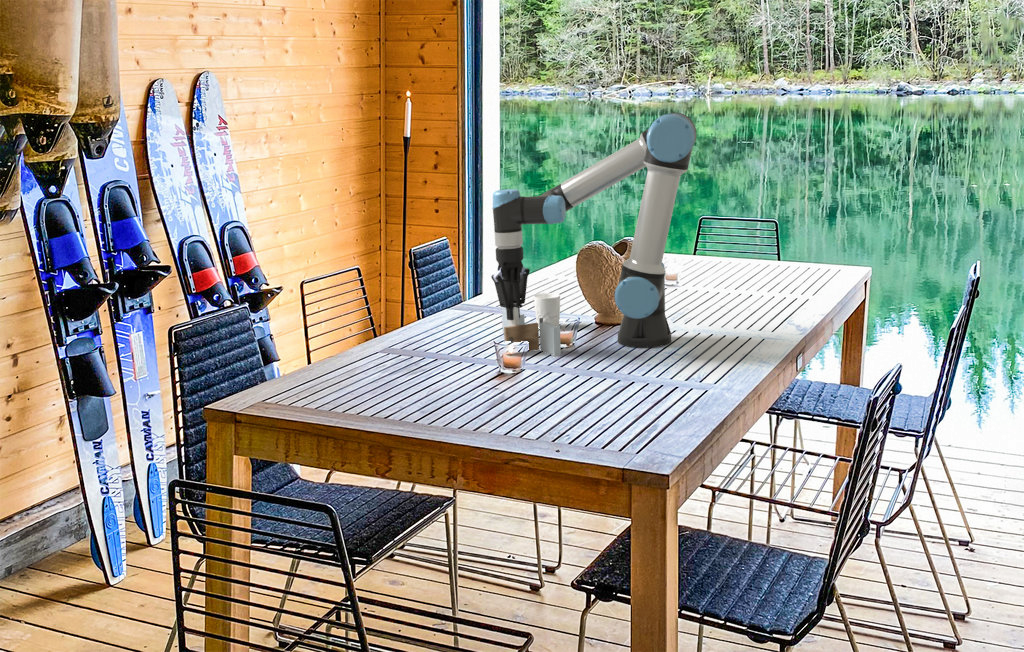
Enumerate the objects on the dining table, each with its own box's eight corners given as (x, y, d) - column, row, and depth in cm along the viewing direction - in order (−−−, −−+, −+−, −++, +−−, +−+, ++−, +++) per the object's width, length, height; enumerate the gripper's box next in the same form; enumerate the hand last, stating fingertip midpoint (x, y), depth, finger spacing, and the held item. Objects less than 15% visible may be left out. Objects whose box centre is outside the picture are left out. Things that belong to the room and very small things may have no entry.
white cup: (551, 332, 330) (550, 299, 328) (529, 329, 335) (528, 296, 333) (566, 326, 337) (565, 294, 334) (544, 324, 341) (543, 292, 339)
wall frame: (560, 355, 303) (559, 323, 301) (554, 356, 302) (553, 324, 300) (508, 335, 329) (507, 305, 327) (502, 336, 328) (501, 306, 326)
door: (537, 348, 310) (536, 322, 308) (541, 350, 308) (540, 324, 306) (505, 353, 306) (504, 327, 304) (508, 355, 304) (507, 328, 302)
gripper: (515, 242, 310) (520, 324, 315) (482, 249, 301) (488, 333, 306) (535, 243, 305) (540, 327, 310) (501, 251, 296) (507, 337, 301)
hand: (514, 330), depth 308 cm, fingers closed
